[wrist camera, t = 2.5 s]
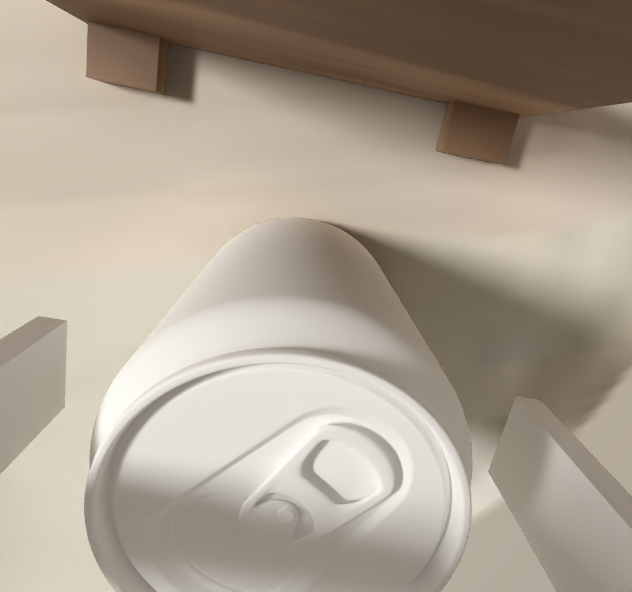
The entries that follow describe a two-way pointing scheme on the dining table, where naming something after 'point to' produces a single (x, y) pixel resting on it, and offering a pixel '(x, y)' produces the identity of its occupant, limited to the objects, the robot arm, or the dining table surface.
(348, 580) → the beverage can
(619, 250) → the dining table surface
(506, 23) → the screen
